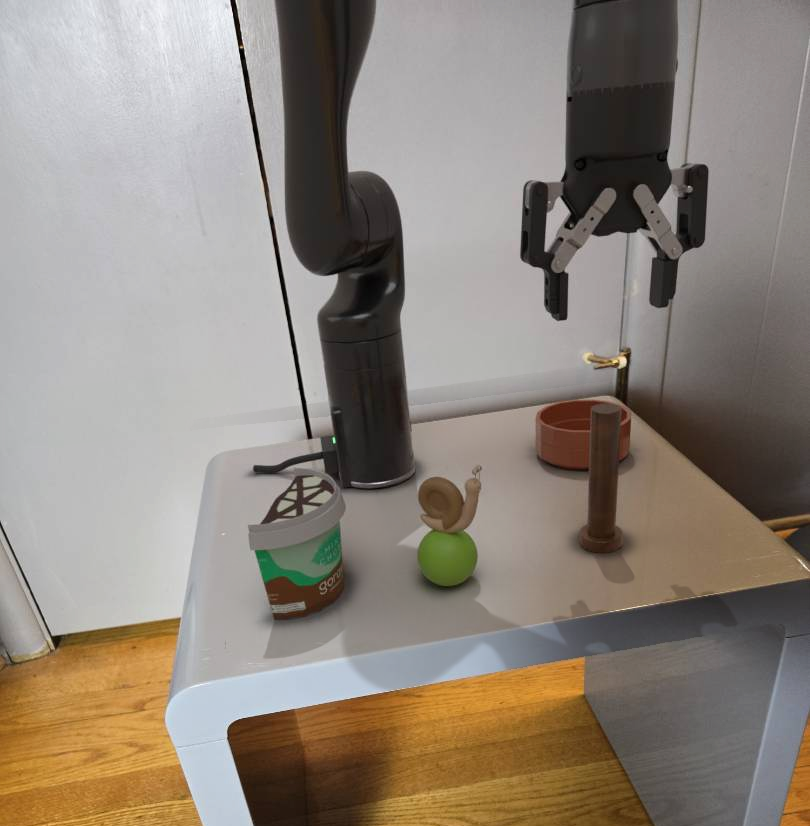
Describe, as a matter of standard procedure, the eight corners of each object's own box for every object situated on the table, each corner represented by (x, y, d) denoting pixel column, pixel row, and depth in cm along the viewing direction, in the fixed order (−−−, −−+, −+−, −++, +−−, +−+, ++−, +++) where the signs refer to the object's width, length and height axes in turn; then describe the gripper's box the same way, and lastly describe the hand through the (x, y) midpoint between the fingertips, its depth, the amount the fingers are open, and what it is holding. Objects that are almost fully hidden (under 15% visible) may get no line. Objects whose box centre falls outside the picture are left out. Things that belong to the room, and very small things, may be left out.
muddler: (588, 555, 69) (592, 418, 63) (573, 536, 73) (576, 404, 66) (628, 549, 70) (637, 412, 63) (612, 530, 73) (618, 398, 67)
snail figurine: (471, 606, 64) (463, 480, 58) (408, 589, 67) (395, 468, 61) (498, 575, 68) (494, 454, 62) (438, 561, 71) (428, 445, 65)
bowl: (552, 477, 85) (553, 437, 82) (525, 443, 94) (524, 406, 92) (644, 464, 86) (647, 423, 83) (607, 432, 95) (609, 394, 93)
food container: (335, 633, 62) (318, 529, 57) (267, 629, 64) (245, 528, 59) (370, 558, 73) (358, 465, 68) (311, 556, 74) (295, 465, 69)
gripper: (689, 76, 57) (670, 294, 65) (509, 94, 55) (512, 313, 63) (742, 69, 50) (713, 311, 58) (539, 88, 49) (538, 333, 57)
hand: (608, 312), depth 61 cm, fingers open, 8 cm apart
